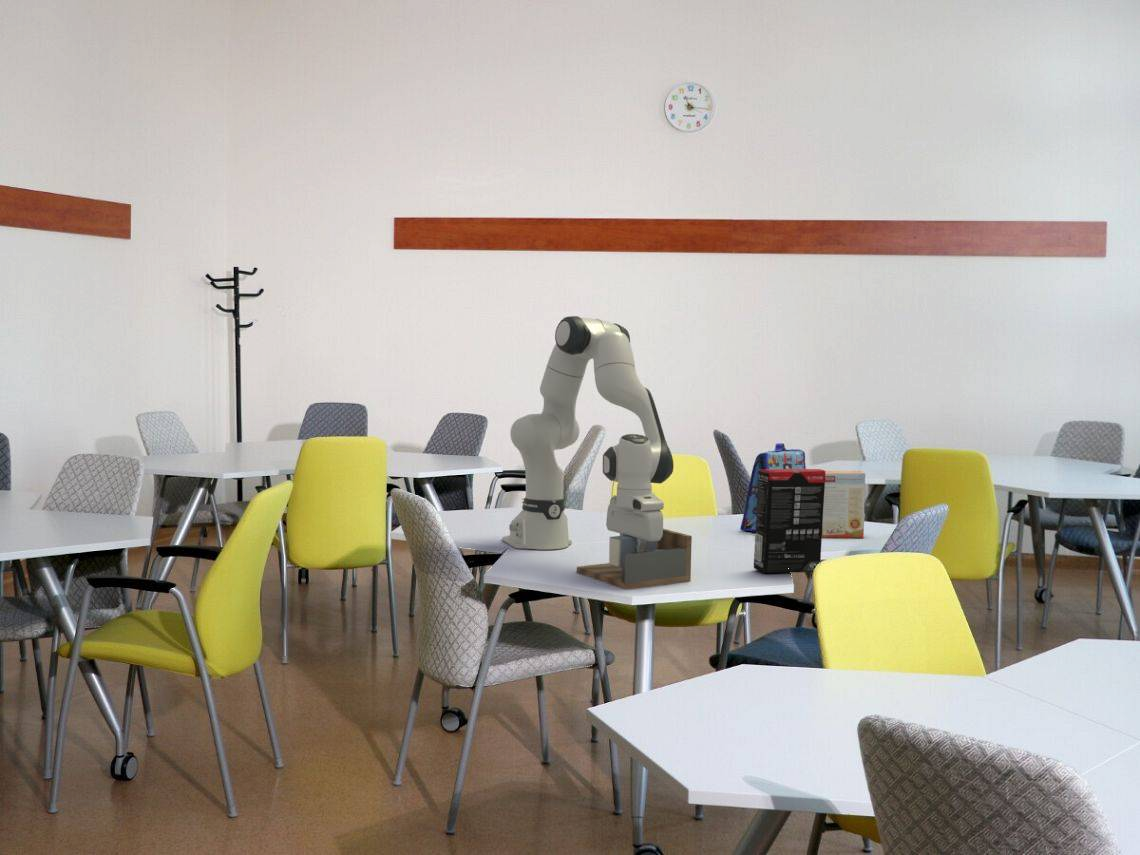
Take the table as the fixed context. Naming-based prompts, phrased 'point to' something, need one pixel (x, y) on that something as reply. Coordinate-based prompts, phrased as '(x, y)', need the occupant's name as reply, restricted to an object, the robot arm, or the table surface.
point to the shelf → (614, 576)
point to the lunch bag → (768, 461)
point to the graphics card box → (789, 520)
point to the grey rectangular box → (625, 548)
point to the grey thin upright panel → (653, 564)
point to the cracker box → (844, 504)
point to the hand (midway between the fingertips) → (632, 553)
